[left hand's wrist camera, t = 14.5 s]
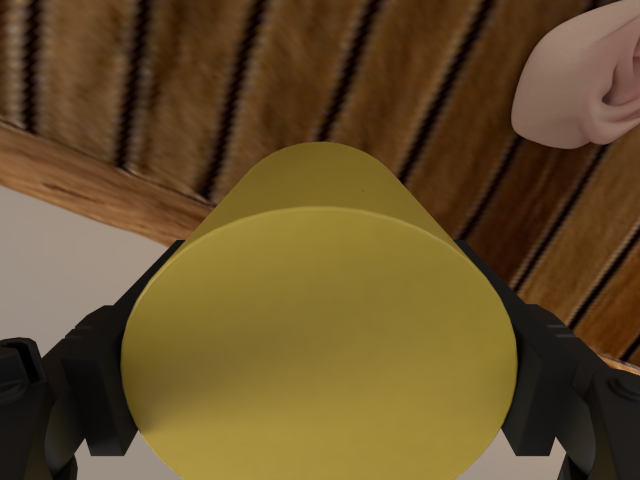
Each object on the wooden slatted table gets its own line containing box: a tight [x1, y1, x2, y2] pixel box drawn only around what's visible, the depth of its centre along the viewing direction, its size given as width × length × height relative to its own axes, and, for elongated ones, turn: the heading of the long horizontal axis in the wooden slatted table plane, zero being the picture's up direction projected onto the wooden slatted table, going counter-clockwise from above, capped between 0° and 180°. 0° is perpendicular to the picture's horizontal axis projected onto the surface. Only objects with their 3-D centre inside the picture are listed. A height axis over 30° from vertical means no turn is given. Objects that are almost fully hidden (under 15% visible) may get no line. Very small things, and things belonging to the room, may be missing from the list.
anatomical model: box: [511, 0, 640, 149], centre depth 30 cm, size 13×4×12 cm
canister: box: [120, 142, 518, 480], centre depth 13 cm, size 9×9×10 cm
